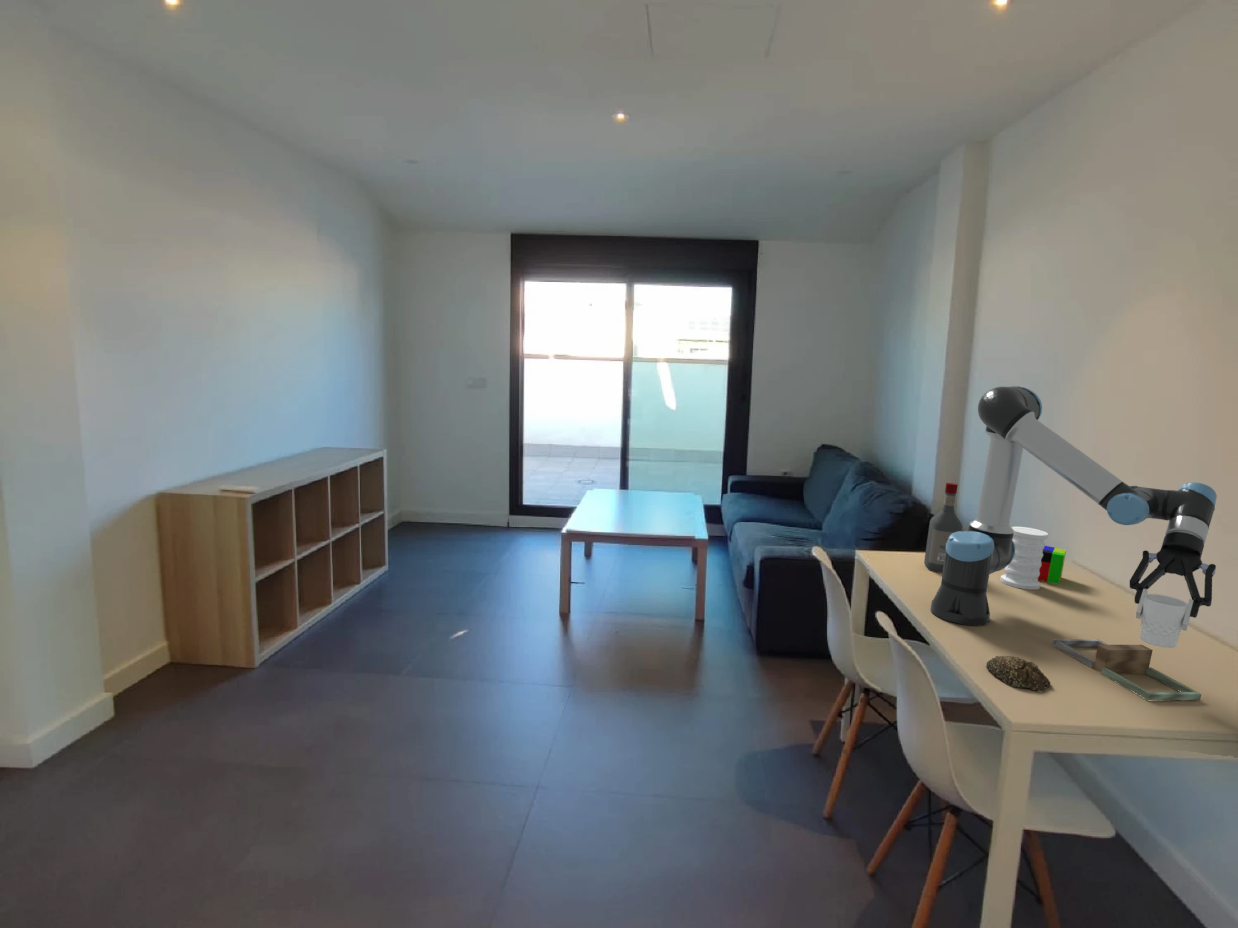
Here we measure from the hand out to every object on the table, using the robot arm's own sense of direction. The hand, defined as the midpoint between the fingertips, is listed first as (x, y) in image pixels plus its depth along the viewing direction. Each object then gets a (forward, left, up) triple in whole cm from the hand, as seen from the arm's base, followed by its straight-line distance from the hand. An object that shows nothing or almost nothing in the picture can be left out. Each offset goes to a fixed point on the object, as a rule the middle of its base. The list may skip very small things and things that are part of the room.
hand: (1160, 621), depth 160 cm
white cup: (+1, +1, -6) cm, 6 cm away
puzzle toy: (+36, +78, -17) cm, 88 cm away
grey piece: (+2, +9, -16) cm, 19 cm away
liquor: (+2, +85, -17) cm, 87 cm away
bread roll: (-28, +6, -17) cm, 33 cm away
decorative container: (+22, +71, -17) cm, 76 cm away
